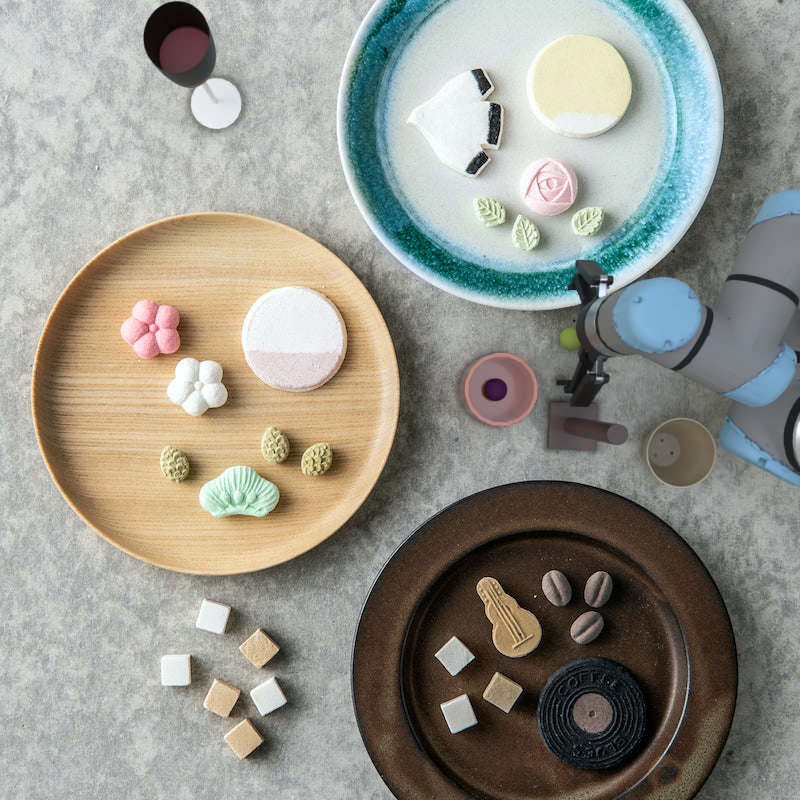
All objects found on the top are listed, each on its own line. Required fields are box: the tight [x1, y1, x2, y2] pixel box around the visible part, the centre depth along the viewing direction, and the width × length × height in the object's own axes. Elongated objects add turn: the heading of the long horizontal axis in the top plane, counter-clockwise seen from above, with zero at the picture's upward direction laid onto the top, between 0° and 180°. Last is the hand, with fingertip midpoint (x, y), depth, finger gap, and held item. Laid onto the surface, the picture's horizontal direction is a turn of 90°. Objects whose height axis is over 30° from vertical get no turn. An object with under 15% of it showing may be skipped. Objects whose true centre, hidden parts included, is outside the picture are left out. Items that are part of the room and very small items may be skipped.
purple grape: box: [484, 378, 507, 401], centre depth 105 cm, size 3×3×3 cm
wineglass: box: [142, 0, 243, 130], centre depth 96 cm, size 8×9×20 cm
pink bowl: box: [458, 352, 539, 427], centre depth 104 cm, size 10×10×8 cm
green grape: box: [558, 326, 581, 351], centre depth 106 cm, size 3×3×3 cm
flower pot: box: [642, 417, 717, 489], centre depth 105 cm, size 10×10×7 cm
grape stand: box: [546, 401, 629, 451], centre depth 97 cm, size 7×7×22 cm
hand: (567, 337), depth 106 cm, fingers open, 13 cm apart
